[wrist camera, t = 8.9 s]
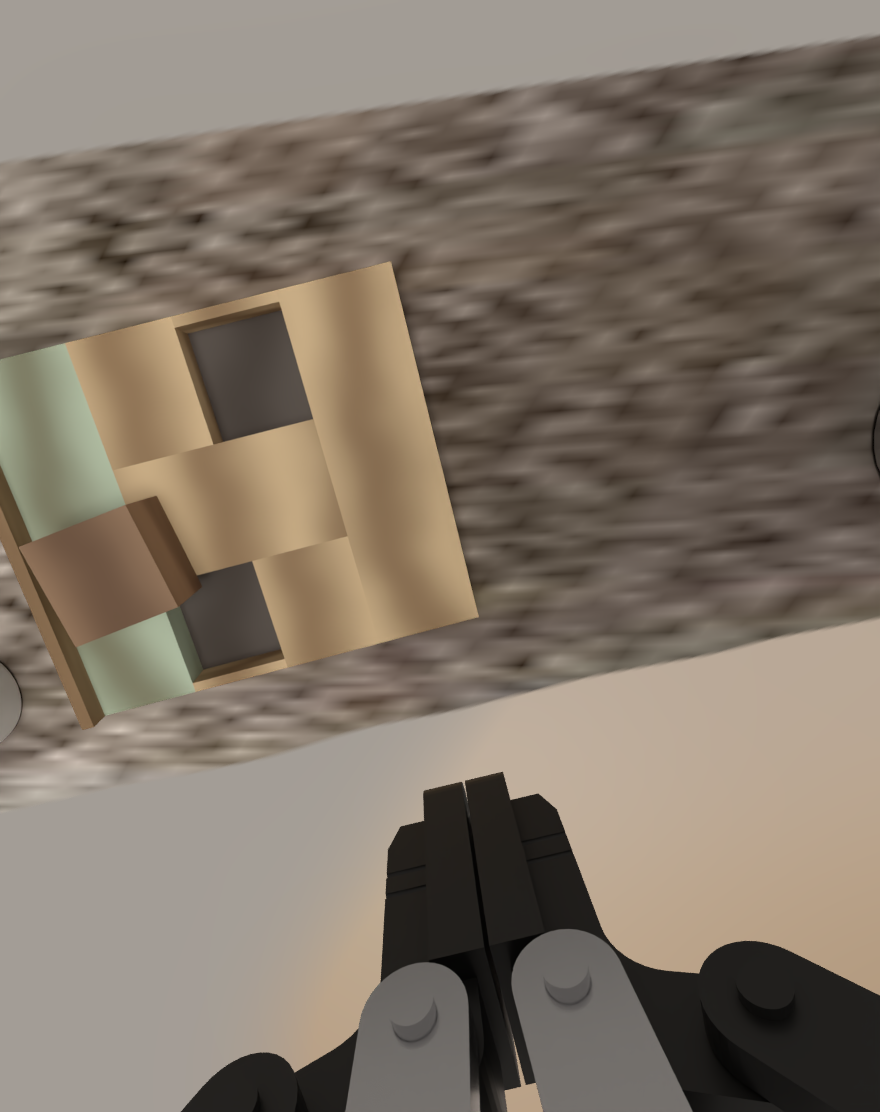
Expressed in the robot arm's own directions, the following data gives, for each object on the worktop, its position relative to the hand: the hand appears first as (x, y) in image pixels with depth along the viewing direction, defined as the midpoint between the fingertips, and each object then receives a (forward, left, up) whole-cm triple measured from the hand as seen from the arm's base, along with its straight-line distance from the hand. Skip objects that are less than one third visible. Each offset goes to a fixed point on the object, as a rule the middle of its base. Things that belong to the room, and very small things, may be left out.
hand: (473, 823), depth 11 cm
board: (+8, -6, -23) cm, 25 cm away
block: (+14, -4, -21) cm, 25 cm away
